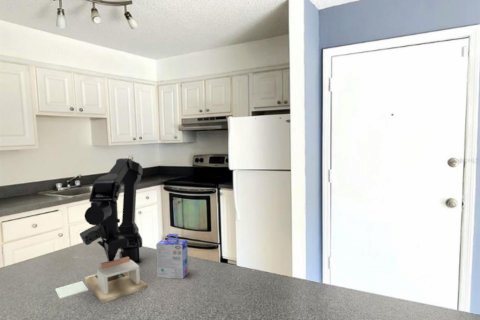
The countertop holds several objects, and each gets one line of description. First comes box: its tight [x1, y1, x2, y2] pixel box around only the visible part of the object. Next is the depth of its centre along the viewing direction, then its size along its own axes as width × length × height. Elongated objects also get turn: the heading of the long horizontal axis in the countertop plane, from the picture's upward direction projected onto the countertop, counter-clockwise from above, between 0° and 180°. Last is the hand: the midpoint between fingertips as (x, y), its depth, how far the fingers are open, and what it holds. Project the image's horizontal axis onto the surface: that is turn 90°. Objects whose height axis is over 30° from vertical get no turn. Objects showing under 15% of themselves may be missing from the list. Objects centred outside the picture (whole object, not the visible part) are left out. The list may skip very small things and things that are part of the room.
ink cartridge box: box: [155, 233, 189, 279], centre depth 109 cm, size 10×6×14 cm, turn 81°
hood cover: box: [96, 257, 141, 295], centre depth 100 cm, size 11×7×7 cm, turn 130°
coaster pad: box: [54, 280, 89, 300], centre depth 99 cm, size 8×8×1 cm
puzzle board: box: [83, 271, 148, 304], centre depth 103 cm, size 14×20×1 cm
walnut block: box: [99, 260, 119, 282], centre depth 107 cm, size 4×4×6 cm
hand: (110, 262), depth 102 cm, fingers closed
